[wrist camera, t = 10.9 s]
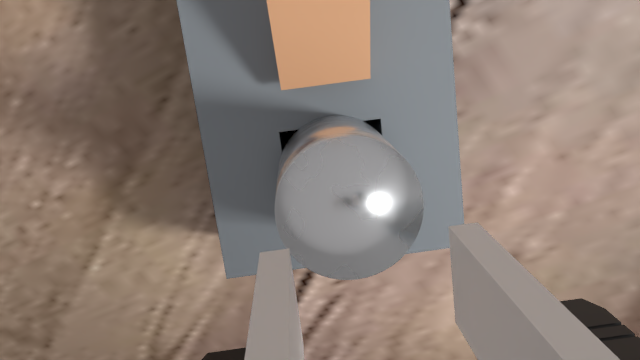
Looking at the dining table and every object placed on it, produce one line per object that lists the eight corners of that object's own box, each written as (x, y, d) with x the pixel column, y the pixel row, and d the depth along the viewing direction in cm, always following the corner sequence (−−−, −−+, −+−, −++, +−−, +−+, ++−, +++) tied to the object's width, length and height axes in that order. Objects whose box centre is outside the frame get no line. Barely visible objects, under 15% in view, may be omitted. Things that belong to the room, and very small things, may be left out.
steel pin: (381, 191, 33) (429, 269, 22) (287, 204, 33) (285, 289, 22) (371, 96, 32) (417, 126, 20) (273, 109, 32) (263, 147, 20)
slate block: (435, 210, 34) (465, 245, 28) (237, 237, 34) (226, 278, 28) (406, -157, 29) (435, -207, 23) (174, -129, 29) (145, -172, 23)
